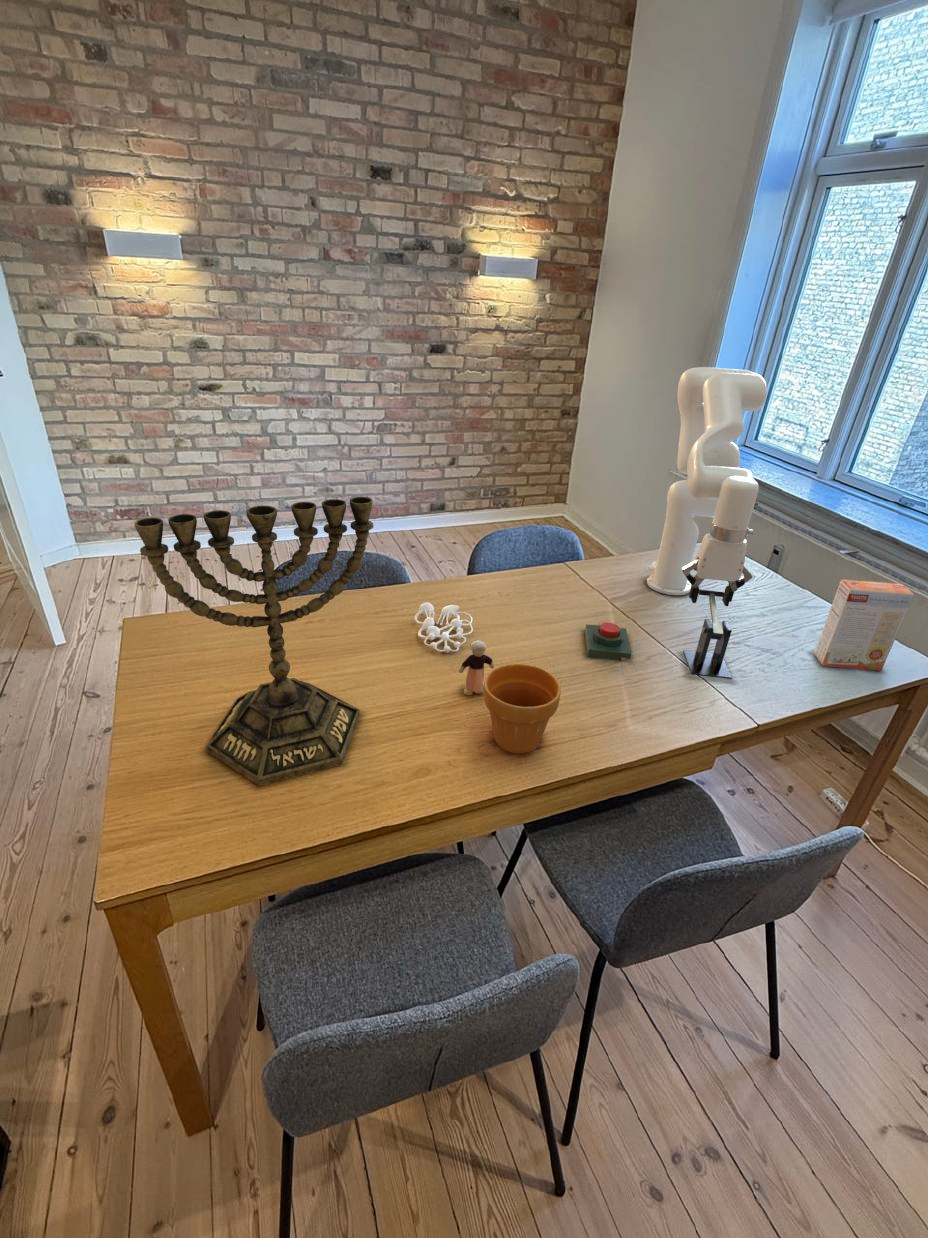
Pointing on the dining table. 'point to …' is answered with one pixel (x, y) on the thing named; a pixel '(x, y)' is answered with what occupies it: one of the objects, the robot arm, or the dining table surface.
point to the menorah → (285, 708)
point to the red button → (609, 630)
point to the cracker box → (862, 624)
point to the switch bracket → (710, 662)
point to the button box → (606, 644)
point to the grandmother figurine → (476, 668)
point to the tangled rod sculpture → (434, 631)
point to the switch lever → (714, 612)
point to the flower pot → (520, 704)
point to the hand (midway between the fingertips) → (709, 601)
